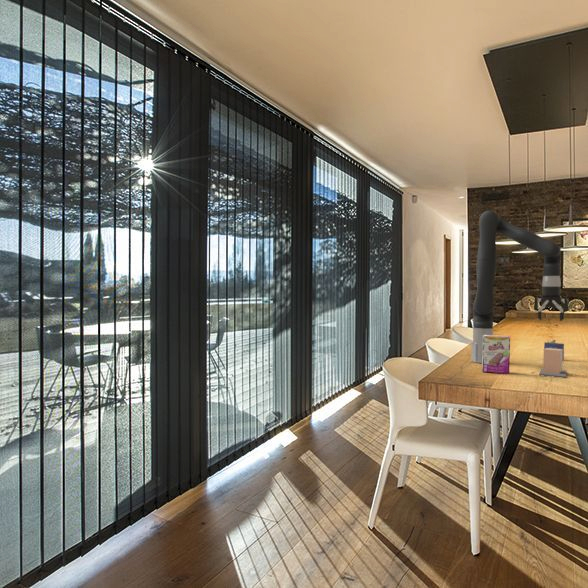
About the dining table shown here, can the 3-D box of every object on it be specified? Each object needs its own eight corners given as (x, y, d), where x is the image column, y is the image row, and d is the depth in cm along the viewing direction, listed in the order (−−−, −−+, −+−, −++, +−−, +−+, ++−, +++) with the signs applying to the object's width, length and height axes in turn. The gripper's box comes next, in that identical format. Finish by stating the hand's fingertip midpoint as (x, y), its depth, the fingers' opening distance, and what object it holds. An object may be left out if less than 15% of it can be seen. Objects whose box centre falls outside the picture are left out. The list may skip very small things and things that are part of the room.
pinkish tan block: (543, 372, 209) (543, 349, 209) (546, 370, 214) (546, 347, 214) (559, 373, 205) (560, 350, 205) (562, 371, 211) (562, 349, 210)
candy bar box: (482, 372, 212) (482, 335, 212) (481, 370, 217) (482, 334, 216) (509, 374, 208) (510, 336, 208) (508, 372, 213) (509, 335, 213)
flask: (564, 360, 247) (564, 339, 247) (563, 361, 245) (563, 340, 245) (544, 358, 253) (544, 338, 253) (543, 359, 251) (543, 339, 250)
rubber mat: (565, 378, 200) (565, 376, 200) (539, 375, 205) (539, 373, 205) (566, 372, 214) (566, 370, 214) (541, 370, 219) (541, 368, 219)
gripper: (533, 285, 226) (532, 320, 226) (567, 285, 217) (567, 321, 217) (536, 285, 232) (535, 319, 232) (569, 285, 223) (569, 320, 223)
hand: (550, 320), depth 225 cm, fingers open, 8 cm apart
